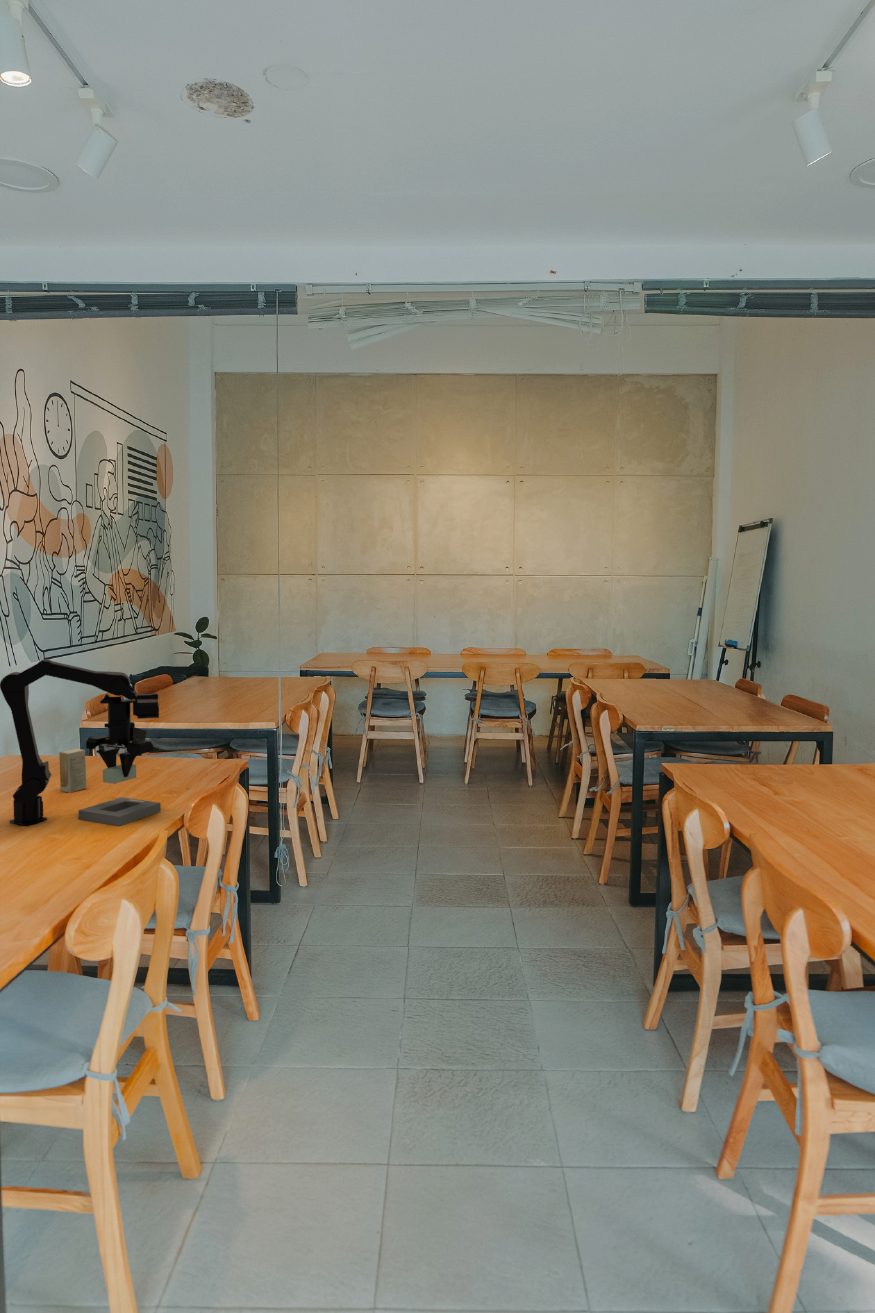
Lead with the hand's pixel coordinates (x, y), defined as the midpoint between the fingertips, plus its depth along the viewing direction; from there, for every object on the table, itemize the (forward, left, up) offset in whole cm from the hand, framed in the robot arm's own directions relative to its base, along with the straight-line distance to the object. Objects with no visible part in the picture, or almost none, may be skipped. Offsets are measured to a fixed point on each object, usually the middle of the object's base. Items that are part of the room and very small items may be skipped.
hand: (119, 776), depth 220 cm
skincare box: (+15, +33, -11) cm, 38 cm away
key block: (0, 0, -1) cm, 1 cm away
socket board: (0, 0, -11) cm, 11 cm away
